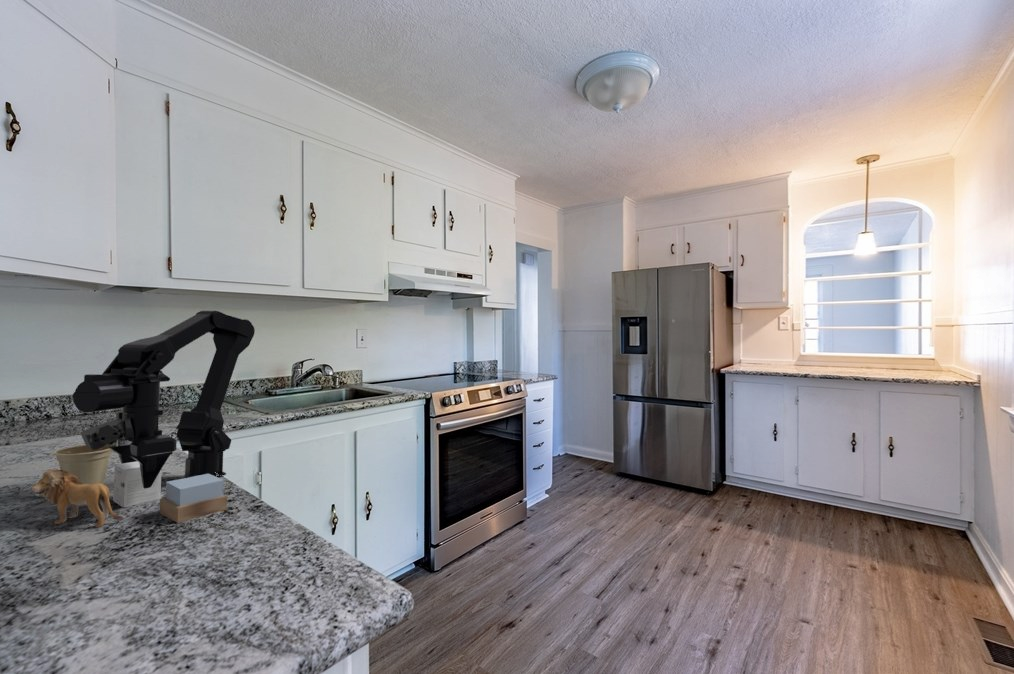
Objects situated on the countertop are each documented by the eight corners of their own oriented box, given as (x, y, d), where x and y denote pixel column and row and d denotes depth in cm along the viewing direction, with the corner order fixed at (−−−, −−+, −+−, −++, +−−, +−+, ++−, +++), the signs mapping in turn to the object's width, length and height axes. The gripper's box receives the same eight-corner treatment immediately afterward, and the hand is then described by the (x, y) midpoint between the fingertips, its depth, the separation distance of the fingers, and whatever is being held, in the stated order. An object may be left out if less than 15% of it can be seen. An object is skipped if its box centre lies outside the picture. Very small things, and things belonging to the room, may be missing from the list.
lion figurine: (23, 526, 74) (25, 473, 75) (55, 514, 80) (57, 465, 80) (110, 528, 75) (112, 475, 75) (136, 516, 80) (138, 466, 80)
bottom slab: (207, 502, 88) (207, 487, 88) (226, 511, 84) (227, 495, 84) (159, 515, 82) (159, 499, 82) (177, 525, 77) (178, 508, 77)
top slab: (207, 488, 88) (208, 473, 88) (223, 495, 84) (223, 480, 84) (165, 497, 82) (166, 481, 82) (179, 506, 78) (180, 489, 78)
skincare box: (112, 501, 87) (113, 464, 87) (150, 493, 92) (151, 458, 92) (122, 508, 83) (124, 469, 84) (161, 499, 88) (162, 463, 89)
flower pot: (83, 497, 89) (85, 454, 89) (38, 496, 89) (40, 453, 89) (125, 483, 98) (126, 444, 98) (83, 481, 98) (85, 443, 99)
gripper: (72, 405, 86) (69, 485, 86) (103, 415, 76) (100, 505, 76) (142, 400, 96) (139, 471, 95) (178, 408, 86) (176, 488, 85)
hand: (138, 483), depth 88 cm, fingers open, 9 cm apart
